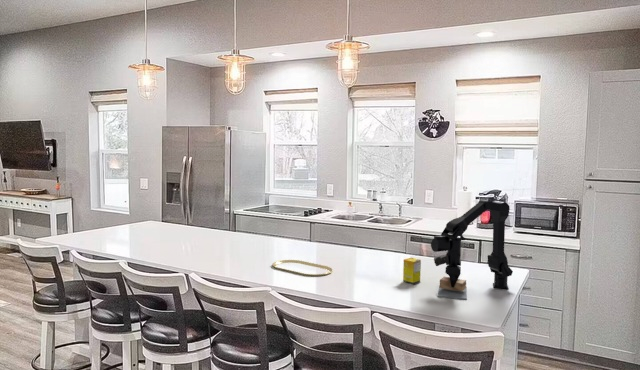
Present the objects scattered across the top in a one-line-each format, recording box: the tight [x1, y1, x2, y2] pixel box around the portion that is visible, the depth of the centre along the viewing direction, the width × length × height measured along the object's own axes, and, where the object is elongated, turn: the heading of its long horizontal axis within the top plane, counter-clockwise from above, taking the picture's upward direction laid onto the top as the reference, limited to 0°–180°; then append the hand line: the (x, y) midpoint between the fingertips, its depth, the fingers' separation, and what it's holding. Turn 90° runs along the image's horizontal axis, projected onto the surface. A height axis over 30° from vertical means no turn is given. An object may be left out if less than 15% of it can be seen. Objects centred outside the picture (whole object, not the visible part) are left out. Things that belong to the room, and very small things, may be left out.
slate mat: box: [437, 284, 468, 301], centre depth 209 cm, size 18×12×1 cm, turn 163°
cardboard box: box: [439, 276, 467, 291], centre depth 209 cm, size 10×6×4 cm, turn 59°
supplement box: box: [402, 257, 422, 285], centre depth 224 cm, size 6×6×11 cm
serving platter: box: [272, 259, 333, 277], centre depth 246 cm, size 19×35×2 cm, turn 52°
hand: (452, 284), depth 209 cm, fingers open, 7 cm apart
